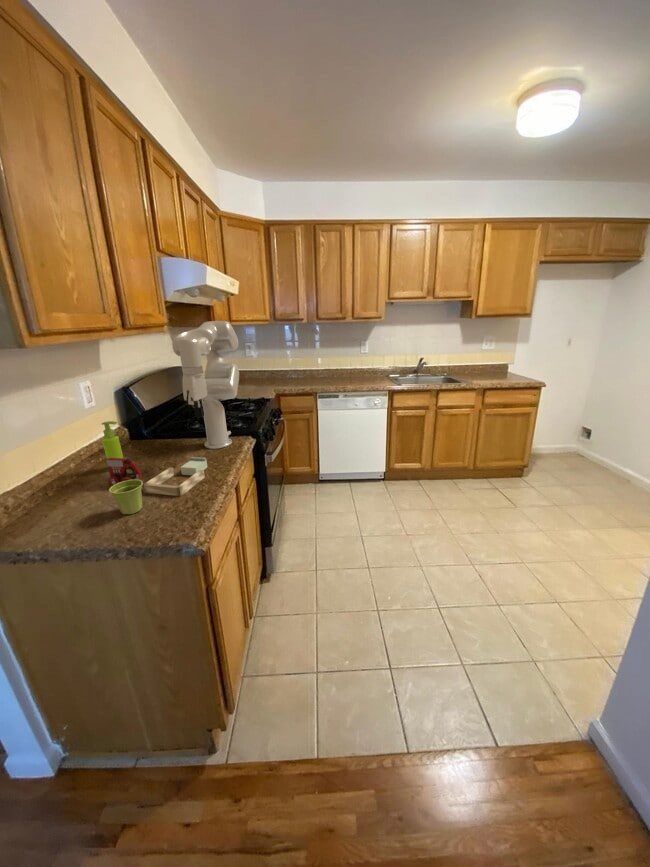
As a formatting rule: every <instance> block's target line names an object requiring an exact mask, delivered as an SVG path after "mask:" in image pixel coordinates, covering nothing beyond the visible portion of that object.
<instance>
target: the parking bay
mask: <svg viewBox="0 0 650 867" xmlns="http://www.w3.org/2000/svg"><path fill="white" fill-rule="evenodd" d="M174 475H175V471H174V468H173V467H168V468H166V469H165V470H163V471H162V472H160V473H159V474H157V475H156V476H154V477H153V478H151V479H150V480H148V481H146V482H145V483H143V485H142V490H143V493H145V494H155V495H164V496H165V495H167V496H175V497H182V496H183V495H185V494H186V493H188V492H189V491H190V490H191V489H192V488H193V487H194V486H196V485H197V484H198V483H200V482H201V481H202V480H203V479H205V477H206V476H205V470H199V471H198V472H197V473H195V474H194V475H190V477H188V479H186V480H184V481H183V482H182V483H181V484H180V485H170V484H163V483H164V482H166V481H167V480H169V479H170V478H172V477H173V476H174Z"/></svg>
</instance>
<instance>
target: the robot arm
mask: <svg viewBox="0 0 650 867" xmlns="http://www.w3.org/2000/svg"><path fill="white" fill-rule="evenodd" d="M172 341H173V342H172V350H173V352H174V354H175V355H176V356H178V357H179V358H180V362H181V369H182V379H181V380H182V394H183V400H184V401H185V402H188V406H190V405H191V406H192V407H193V409H194V417H195V418H197V417H198V418H202V417H203V420H204V426H205V434H206V439H207V440H206V441H205V442H204V447H205V448H207V449H213V450H215V449H222V448H226V447H228V446H230V445H232V443H233V440H232V439H231V438H229V436H230V435H231V434H232V432H231V430H228V429H227V427H228V426H227V422H226V420H227V419H226V413H225V407H224V406H223V404H222V402H221V401H219V400H231V399H235V397H237V395H238V389H239V381H240V370H239V367H238V365H237V364H236V363H234V362H226V359H225V358H224V357H223V356H222V354H220V353H219V352H232V351H233V352H234V351H236V350H238V348H239V338H238V336H237V334H236V332H235V330H234V328H233V325H232V324H231V323H230V322H228V321H227V320H211V321H204V322H203V323H202V324H200V326H198V327H197V328H194V329H190V330H187V331H184V332H181V333H179V334H177V335H176V336H175V337H174V339H173V340H172ZM203 356H205V358H206V360H207V361H206V366H205V369H204V367H203V360H202V357H203Z"/></svg>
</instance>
